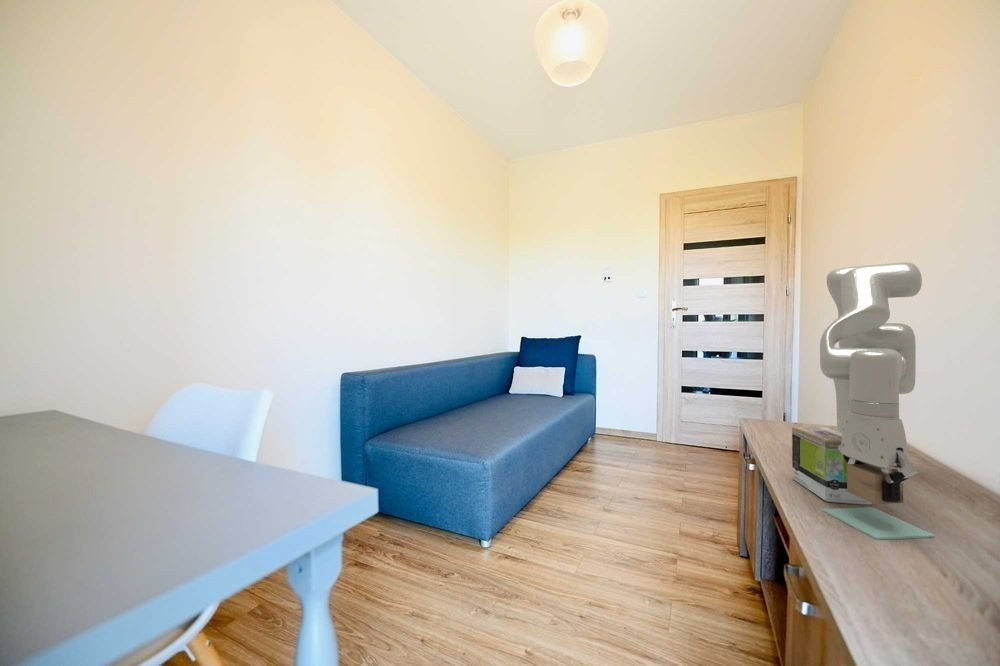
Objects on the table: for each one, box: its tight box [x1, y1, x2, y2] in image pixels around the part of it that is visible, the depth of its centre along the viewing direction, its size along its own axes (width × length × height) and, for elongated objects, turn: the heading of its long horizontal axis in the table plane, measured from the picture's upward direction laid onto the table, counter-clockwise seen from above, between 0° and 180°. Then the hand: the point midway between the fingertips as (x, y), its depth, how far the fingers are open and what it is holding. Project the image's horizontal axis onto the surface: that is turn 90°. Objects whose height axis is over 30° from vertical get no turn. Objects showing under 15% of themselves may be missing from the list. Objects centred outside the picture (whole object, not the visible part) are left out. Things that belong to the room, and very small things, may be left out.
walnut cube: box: [847, 464, 904, 505], centre depth 81 cm, size 6×6×6 cm
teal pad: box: [821, 506, 936, 541], centre depth 81 cm, size 12×12×1 cm
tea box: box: [791, 426, 873, 506], centre depth 97 cm, size 15×10×15 cm, turn 168°
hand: (874, 493), depth 81 cm, fingers closed on walnut cube, 6 cm apart
